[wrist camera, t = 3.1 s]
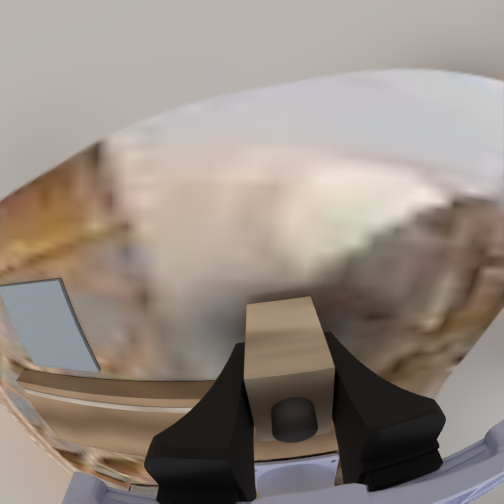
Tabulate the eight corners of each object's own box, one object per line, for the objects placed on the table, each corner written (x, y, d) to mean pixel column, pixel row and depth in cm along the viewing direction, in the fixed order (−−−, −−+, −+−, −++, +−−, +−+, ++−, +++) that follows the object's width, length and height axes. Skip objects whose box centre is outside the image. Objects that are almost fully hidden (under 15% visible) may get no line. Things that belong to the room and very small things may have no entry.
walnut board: (341, 432, 19) (345, 449, 18) (65, 428, 21) (59, 439, 19) (349, 364, 17) (356, 382, 15) (24, 369, 18) (15, 381, 16)
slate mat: (100, 369, 17) (99, 372, 17) (36, 362, 17) (34, 365, 17) (61, 278, 15) (58, 280, 14) (0, 285, 15) (-3, 287, 15)
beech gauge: (313, 359, 15) (334, 451, 9) (257, 367, 15) (258, 460, 9) (310, 296, 14) (341, 388, 8) (246, 304, 14) (243, 401, 8)
